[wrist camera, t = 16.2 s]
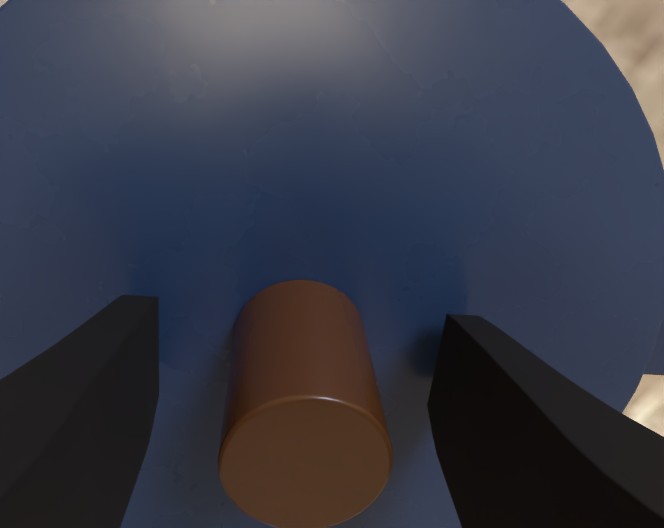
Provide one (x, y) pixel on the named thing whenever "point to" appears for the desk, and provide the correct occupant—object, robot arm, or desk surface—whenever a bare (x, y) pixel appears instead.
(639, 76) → the desk surface
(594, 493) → the robot arm
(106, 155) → the pot lid
